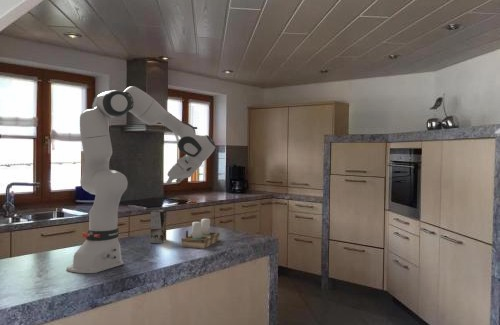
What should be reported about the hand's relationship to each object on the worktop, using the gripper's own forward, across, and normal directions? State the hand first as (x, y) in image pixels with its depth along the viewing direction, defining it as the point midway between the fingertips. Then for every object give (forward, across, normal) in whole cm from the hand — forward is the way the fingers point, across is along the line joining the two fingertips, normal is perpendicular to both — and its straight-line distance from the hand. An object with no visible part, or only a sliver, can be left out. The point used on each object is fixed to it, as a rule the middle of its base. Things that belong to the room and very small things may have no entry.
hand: (172, 182), depth 198 cm
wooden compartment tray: (+14, -9, +30) cm, 35 cm away
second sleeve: (+12, -14, +29) cm, 34 cm away
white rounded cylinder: (+12, -4, +29) cm, 31 cm away
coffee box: (+30, -6, +14) cm, 34 cm away
